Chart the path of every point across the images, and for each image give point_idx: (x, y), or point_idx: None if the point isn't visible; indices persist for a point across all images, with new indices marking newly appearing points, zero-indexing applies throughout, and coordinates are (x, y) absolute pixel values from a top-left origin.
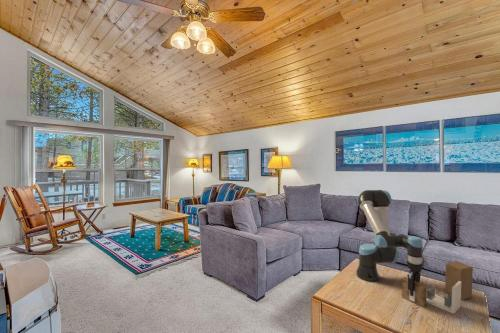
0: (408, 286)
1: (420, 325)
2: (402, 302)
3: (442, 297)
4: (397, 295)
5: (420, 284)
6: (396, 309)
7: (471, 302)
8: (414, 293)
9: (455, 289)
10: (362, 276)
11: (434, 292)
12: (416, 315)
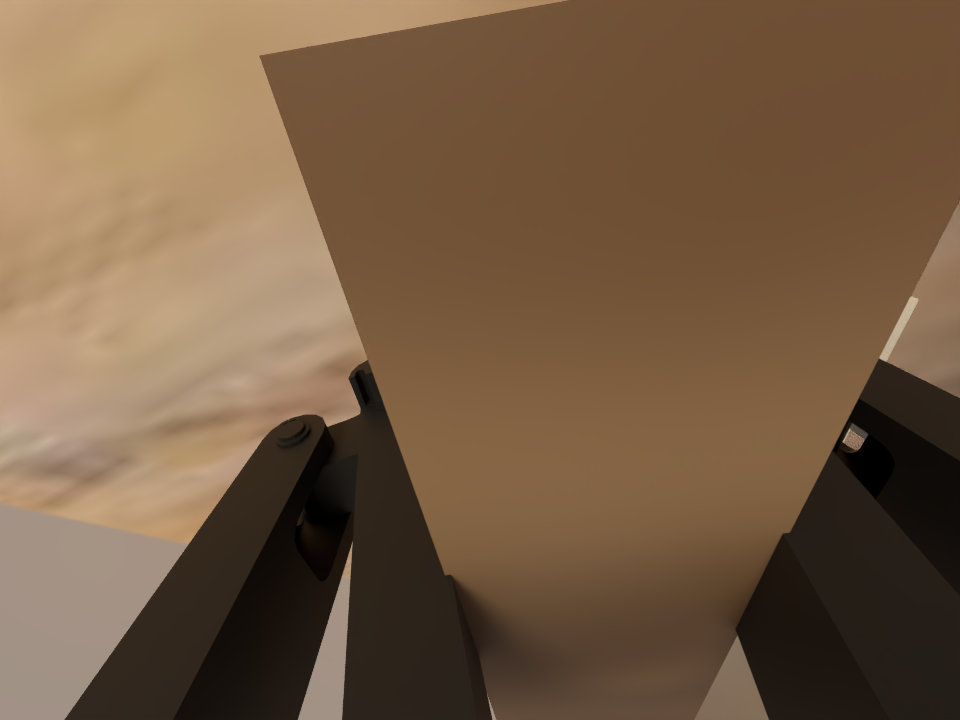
0: (216, 532)
1: (172, 519)
2: (308, 233)
3: (848, 430)
4: (421, 23)
5: (600, 695)
6: (70, 298)
7: None
8: None
9: None
10: None
11: (856, 432)
12: (256, 448)
